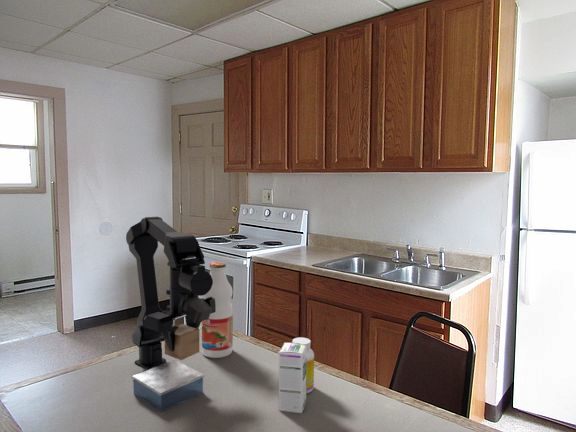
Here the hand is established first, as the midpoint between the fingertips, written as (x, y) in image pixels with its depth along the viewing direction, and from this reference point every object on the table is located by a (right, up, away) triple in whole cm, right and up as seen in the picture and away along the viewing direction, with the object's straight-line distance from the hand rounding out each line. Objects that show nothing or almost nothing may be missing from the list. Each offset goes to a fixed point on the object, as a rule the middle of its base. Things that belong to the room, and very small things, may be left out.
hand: (181, 346), depth 107 cm
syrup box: (+28, -13, -5) cm, 31 cm away
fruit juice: (+5, -9, +25) cm, 27 cm away
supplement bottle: (+30, -12, +3) cm, 32 cm away
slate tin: (-3, -12, 0) cm, 12 cm away
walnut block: (0, -2, 0) cm, 2 cm away
